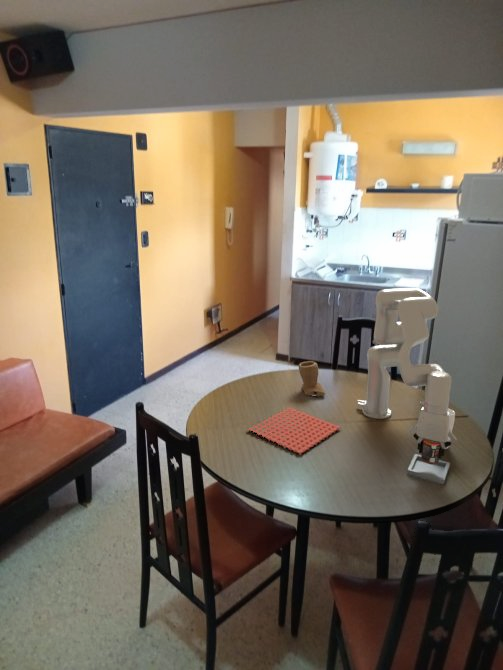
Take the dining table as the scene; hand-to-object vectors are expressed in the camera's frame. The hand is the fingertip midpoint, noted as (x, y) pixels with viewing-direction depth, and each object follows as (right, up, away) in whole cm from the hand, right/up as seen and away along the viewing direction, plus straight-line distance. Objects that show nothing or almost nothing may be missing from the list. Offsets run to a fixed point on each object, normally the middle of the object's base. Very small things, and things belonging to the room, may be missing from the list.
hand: (430, 453), depth 161 cm
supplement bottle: (0, -3, +1) cm, 3 cm away
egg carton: (-45, +1, +31) cm, 55 cm away
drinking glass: (+11, -2, +18) cm, 21 cm away
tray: (0, -7, +2) cm, 7 cm away
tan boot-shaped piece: (-33, +13, +69) cm, 77 cm away
